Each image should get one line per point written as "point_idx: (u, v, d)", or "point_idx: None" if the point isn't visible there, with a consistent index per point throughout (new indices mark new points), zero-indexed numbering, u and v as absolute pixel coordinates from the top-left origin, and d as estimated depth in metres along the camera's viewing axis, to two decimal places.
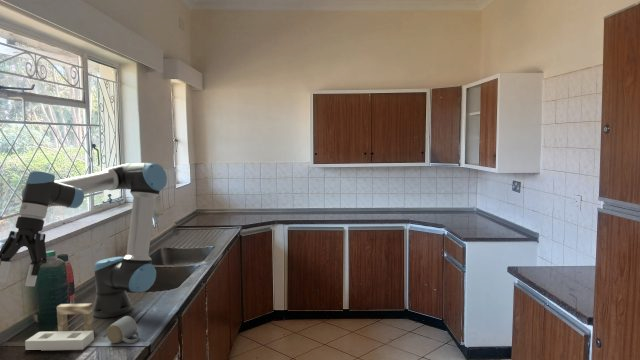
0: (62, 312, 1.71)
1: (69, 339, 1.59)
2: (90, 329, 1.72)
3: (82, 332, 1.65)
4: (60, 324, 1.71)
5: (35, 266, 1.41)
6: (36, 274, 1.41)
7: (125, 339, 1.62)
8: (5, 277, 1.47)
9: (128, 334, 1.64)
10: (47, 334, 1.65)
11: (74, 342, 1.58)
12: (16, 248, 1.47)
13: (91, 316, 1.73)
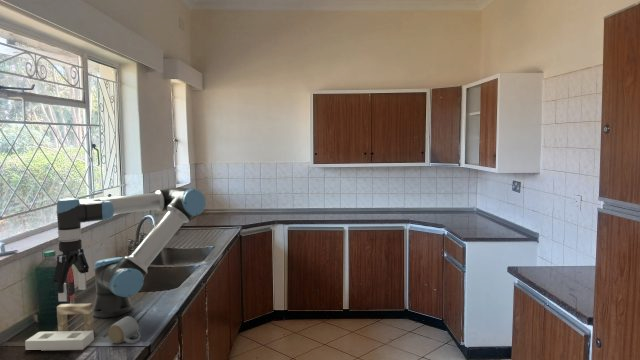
0: (62, 312, 1.71)
1: (69, 339, 1.59)
2: (90, 329, 1.72)
3: (82, 332, 1.65)
4: (60, 324, 1.71)
5: None
6: (60, 292, 1.63)
7: (126, 339, 1.62)
8: (83, 285, 1.78)
9: (129, 334, 1.64)
10: (47, 334, 1.65)
11: (74, 342, 1.58)
12: (77, 264, 1.75)
13: (91, 316, 1.73)
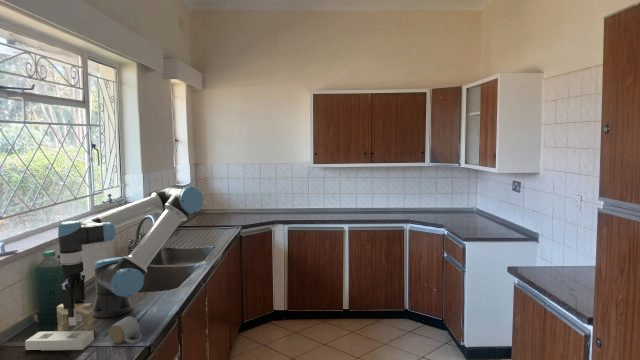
0: (62, 312, 1.71)
1: (69, 339, 1.59)
2: (90, 329, 1.72)
3: (82, 332, 1.65)
4: (60, 324, 1.71)
5: None
6: (70, 316, 1.69)
7: (127, 339, 1.62)
8: (79, 317, 1.74)
9: (130, 334, 1.64)
10: (47, 334, 1.65)
11: (74, 342, 1.58)
12: (75, 289, 1.73)
13: (91, 316, 1.73)
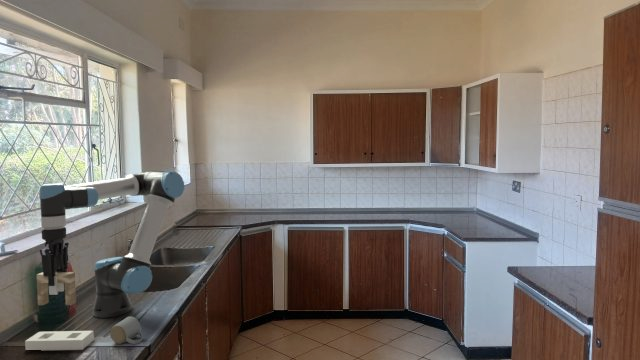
0: (42, 280, 1.60)
1: (69, 339, 1.59)
2: (71, 299, 1.61)
3: (82, 332, 1.65)
4: (39, 293, 1.60)
5: None
6: (51, 285, 1.58)
7: (129, 340, 1.61)
8: (61, 287, 1.63)
9: (132, 335, 1.64)
10: (47, 334, 1.65)
11: (74, 342, 1.58)
12: (57, 257, 1.62)
13: (73, 286, 1.62)
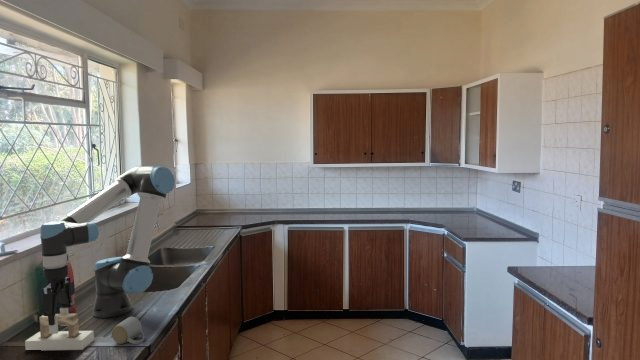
0: (45, 323, 1.61)
1: (69, 339, 1.59)
2: None
3: (82, 332, 1.65)
4: (43, 336, 1.61)
5: None
6: (51, 324, 1.57)
7: (130, 340, 1.61)
8: None
9: (133, 335, 1.64)
10: None
11: (74, 342, 1.58)
12: (61, 294, 1.63)
13: (76, 327, 1.62)
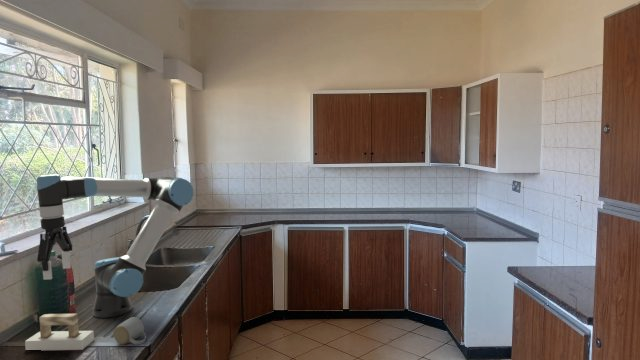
0: (45, 323, 1.61)
1: (69, 339, 1.59)
2: None
3: (82, 332, 1.65)
4: (43, 336, 1.61)
5: None
6: (45, 270, 1.59)
7: (132, 340, 1.61)
8: (68, 264, 1.74)
9: (135, 335, 1.63)
10: None
11: (74, 342, 1.58)
12: (60, 242, 1.71)
13: (76, 327, 1.62)
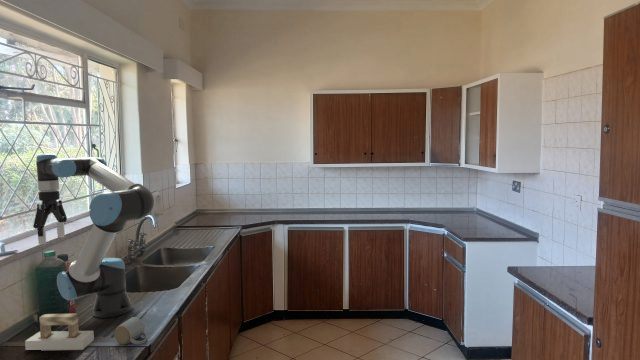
0: (45, 323, 1.61)
1: (69, 339, 1.59)
2: None
3: (82, 332, 1.65)
4: (43, 336, 1.61)
5: None
6: (40, 235, 1.83)
7: (133, 340, 1.61)
8: (62, 233, 1.98)
9: (136, 335, 1.63)
10: None
11: (74, 342, 1.58)
12: (55, 213, 1.95)
13: (76, 327, 1.62)
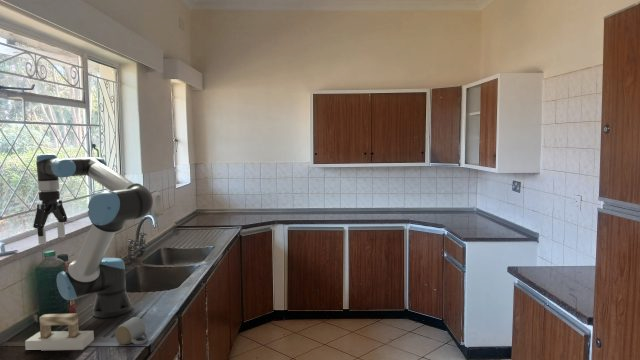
0: (45, 323, 1.61)
1: (69, 339, 1.59)
2: None
3: (82, 332, 1.65)
4: (43, 336, 1.61)
5: None
6: (40, 235, 1.84)
7: (133, 340, 1.61)
8: (62, 233, 1.99)
9: (136, 335, 1.63)
10: None
11: (74, 342, 1.58)
12: (56, 213, 1.95)
13: (76, 327, 1.62)
